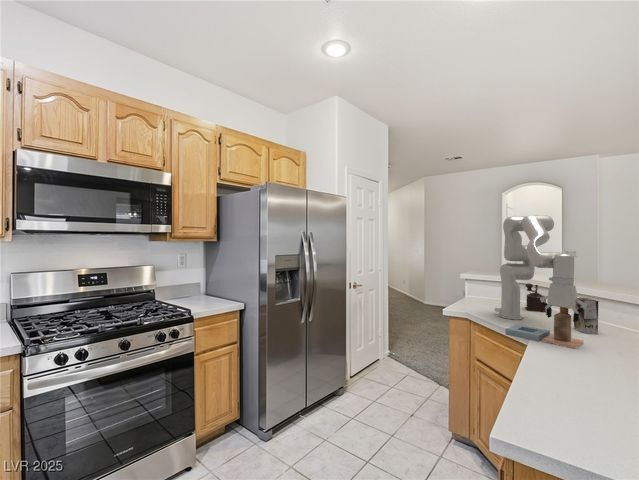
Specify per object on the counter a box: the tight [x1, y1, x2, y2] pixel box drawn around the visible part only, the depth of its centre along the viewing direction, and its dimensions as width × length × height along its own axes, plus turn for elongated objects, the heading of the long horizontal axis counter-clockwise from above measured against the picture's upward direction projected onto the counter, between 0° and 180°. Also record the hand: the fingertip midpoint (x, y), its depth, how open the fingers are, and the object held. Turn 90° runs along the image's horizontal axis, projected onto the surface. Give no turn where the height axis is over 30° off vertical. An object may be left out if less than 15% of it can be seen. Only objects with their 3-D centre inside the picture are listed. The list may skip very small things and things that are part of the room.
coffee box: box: [573, 297, 600, 335], centre depth 162 cm, size 9×6×16 cm
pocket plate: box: [505, 323, 551, 342], centre depth 155 cm, size 14×14×2 cm
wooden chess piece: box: [559, 307, 571, 315], centre depth 188 cm, size 7×6×18 cm
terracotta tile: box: [541, 333, 584, 349], centre depth 144 cm, size 12×12×1 cm
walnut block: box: [553, 312, 572, 342], centre depth 144 cm, size 5×5×11 cm
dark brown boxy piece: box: [524, 283, 547, 313], centre depth 208 cm, size 16×11×18 cm
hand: (562, 319), depth 145 cm, fingers open, 9 cm apart
